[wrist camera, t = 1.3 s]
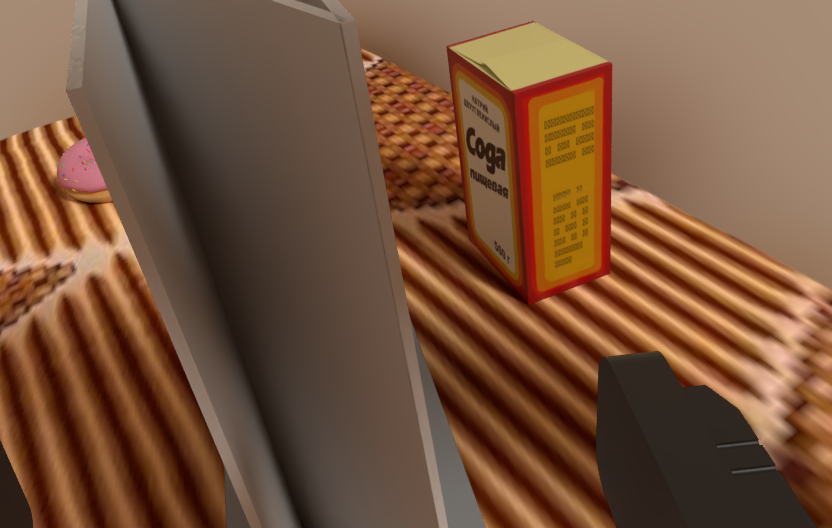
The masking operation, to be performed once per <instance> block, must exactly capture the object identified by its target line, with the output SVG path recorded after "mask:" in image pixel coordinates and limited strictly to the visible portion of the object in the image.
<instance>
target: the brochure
mask: <svg viewBox="0 0 832 528" xmlns="http://www.w3.org/2000/svg"><path fill="white" fill-rule="evenodd" d="M66 92H67V94H68V97H69V99H70V101H71V104H72V106H73V108H74V111H75V113H76V116H77V118H78V120H79V123H80V125H81V127H82V130H83V132H84V135H85V137H86V139H87V142H88V144H89V146H90V149H91V151H92V153H93V156H94V158H95V161H96V163H97V165H98V168H99V170H100V172H101V175H102V177H103V179H104V182H105V184H106V187H107V189H108V191H109V194H110V196H111V198H112V201H113V203H114V206H115V208H116V210H117V213H118V215H119V217H120V220H121V222H122V224H123V227H124V229H125V232H126V234H127V236H128V239H129V241H130V243H131V246H132V248H133V250H134V253H135V255H136V258H137V260H138V262H139V265H140V267H141V269H142V272H143V274H144V276H145V279H146V281H147V284H148V286H149V288H150V291H151V293H152V295H153V298H154V300H155V303H156V305H157V307H158V310H159V312H160V314H161V317H162V319H163V321H164V324H165V326H166V329H167V331H168V333H169V336H170V338H171V340H172V343H173V345H174V347H175V350H176V352H177V355H178V357H179V359H180V362H181V364H182V366H183V369H184V371H185V374H186V376H187V378H188V381H189V383H190V385H191V388H192V390H193V392H194V395H195V397H196V400H197V402H198V404H199V407H200V409H201V411H202V414H203V416H204V418H205V421H206V423H207V426H208V428H209V430H210V433H211V435H212V437H213V440H214V442H215V444H216V447H217V449H218V452H219V454H220V456H221V459H222V461H223V463H224V466H225V468H226V471H227V473H228V475H229V478H230V480H231V482H232V485H233V487H234V489H235V492H236V494H237V497H238V499H239V501H240V504H241V506H242V508H243V511H244V513H245V515H246V518H247V520H248V523H249V525H250V527H251V528H302V524H301V522H302V523H303V524H304V525H305V526H306V527H307V528H448V523H447V518H446V512H445V507H444V501H443V496H442V490H441V485H440V479H439V474H438V469H437V463H436V458H435V452H434V447H433V441H432V436H431V430H430V425H429V420H428V414H427V409H426V403H425V398H424V392H423V387H422V381H421V376H420V371H419V365H418V360H417V354H416V349H415V343H414V338H413V332H412V327H411V321H410V316H409V311H408V305H407V300H406V294H405V289H404V283H403V278H402V272H401V267H400V262H399V256H398V251H397V245H396V240H395V234H394V229H393V223H392V218H391V213H390V207H389V202H388V196H387V191H386V185H385V180H384V174H383V169H382V163H381V158H380V153H379V147H378V142H377V136H376V131H375V125H374V120H373V114H372V109H371V104H370V98H369V93H368V87H367V82H366V76H365V71H364V65H363V60H362V55H361V49H360V44H359V38H358V33H357V27H356V22H355V19H354V18H353V17H352V16H351V15H350V14H349V13H348V11H346V9H345V8H344V7H343V6H342V5H341V4H340V3H339V1H338V0H76V6H75V15H74V24H73V33H72V43H71V51H70V60H69V69H68V78H67V87H66Z"/></svg>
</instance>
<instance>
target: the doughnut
mask: <svg viewBox="0 0 832 528" xmlns="http://www.w3.org/2000/svg"><path fill="white" fill-rule="evenodd" d="M83 138H84V137H83ZM56 164H57V166H58V167H57V175H58V182H59V184H60V185H61V186H62V187H63V188H64V190H65V191H66V192H67V193H68V194H69V195H70V196H72V197H73V198H75V199H78V200H81V201H84V202H91V203H105V202H112V198H111V196H110V194H109V191H108V189H107V187H106V184H105V182H104V179H103V177H102V175H101V172H100V170H99V168H98V165H97V163H96V161H95V158H94V156H93V153H92V151H91V149H90V146H89V144H88V142H87V139H86V138H84V139H82V140H80V141H78V142H77V143H75V144H74V145H72V146H71V147H68V150H66V152H64V153H63V156H61V158H60V161H59V163H56Z"/></svg>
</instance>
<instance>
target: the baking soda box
mask: <svg viewBox="0 0 832 528" xmlns="http://www.w3.org/2000/svg"><path fill="white" fill-rule="evenodd" d="M447 54H448V63H449V72H450V80H451V89H452V98H453V106H454V115H455V123H456V132H457V140H458V149H459V157H460V166H461V174H462V183H463V191H464V200H465V208H466V217H467V225H468V234H469V239H470V240H471V242H472V243H473V244H474V245H475V246H476V247H477V248H478V249H479V250H480V251H481V253H482V254H483V255H484V256H485V257H486V258H487V259H488V260H489V261H490V263H491V264H492V265H493V266H494V267H495V268H496V269H497V270H498V271H499V272H500V274H501V275H502V276H503V277H504V278H505V279H506V280H507V281H508V282H509V284H510V285H511V286H512V287H513V288H514V289H515V290H516V291H517V292H518V293H519V295H520V296H521V297H522V298H523V299H524V300H525V301H526V302H527V303H528V304H532V303H535V302H537V301H540V300H542V299H545V298H548V297H550V296H553V295H555V294H558V293H561V292H563V291H566V290H568V289H571V288H574V287H576V286H579V285H581V284H584V283H587V282H589V281H592V280H594V279H597V278H600V277H602V276H605V275H607V274H610V245H611V135H612V129H611V128H612V63H610V62H608V61H606V60H605V59H603V58H601V57H599V56H597V55H595V54H593V53H591V52H589V51H588V50H586V49H584V48H582V47H580V46H579V45H577V44H575V43H573V42H571V41H569V40H567V39H565V38H564V37H562V36H560V35H558V34H556V33H554V32H552V31H550V30H549V29H547V28H545V27H543V26H541V25H539V24H537V23H536V22H534V21H532V22H528V23H525V24H521V25H518V26H514V27H511V28H507V29H504V30H500V31H497V32H494V33H490V34H487V35H483V36H480V37H477V38H473V39H469V40H466V41H463V42H459V43H456V44H452V45H448V46H447Z"/></svg>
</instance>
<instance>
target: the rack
mask: <svg viewBox="0 0 832 528" xmlns="http://www.w3.org/2000/svg"><path fill="white" fill-rule="evenodd" d="M410 321H411V319H410ZM411 327H412V332H413V338H414V343H415V349H416V354H417V360H418V365H419V371H420V376H421V381H422V387H423V392H424V398H425V403H426V409H427V414H428V420H429V425H430V430H431V436H432V441H433V447H434V452H435V458H436V463H437V469H438V474H439V479H440V485H441V490H442V496H443V501H444V507H445V512H446V518H447V523H448V528H486V526H485V524H484V521H483V518H482V515H481V513H480V510H479V507H478V504H477V502H476V499H475V496H474V493H473V490H472V488H471V485H470V482H469V479H468V477H467V474H466V471H465V468H464V466H463V463H462V460H461V457H460V454H459V452H458V449H457V446H456V443H455V441H454V438H453V435H452V432H451V430H450V427H449V424H448V421H447V418H446V416H445V413H444V410H443V407H442V405H441V402H440V399H439V396H438V394H437V391H436V388H435V385H434V382H433V380H432V377H431V374H430V371H429V369H428V366H427V363H426V360H425V358H424V355H423V352H422V349H421V346H420V344H419V341H418V338H417V335H416V333H415V330H414V327H413V324H412V322H411ZM224 476H225V501H226V527H227V528H251V527H250V525H249V523H248V520H247V518H246V515H245V513H244V511H243V508H242V506H241V504H240V501H239V499H238V497H237V494H236V492H235V489H234V487H233V485H232V482H231V480H230V478H229V475H228V473H227V471H226V468H225V466H224Z"/></svg>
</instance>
